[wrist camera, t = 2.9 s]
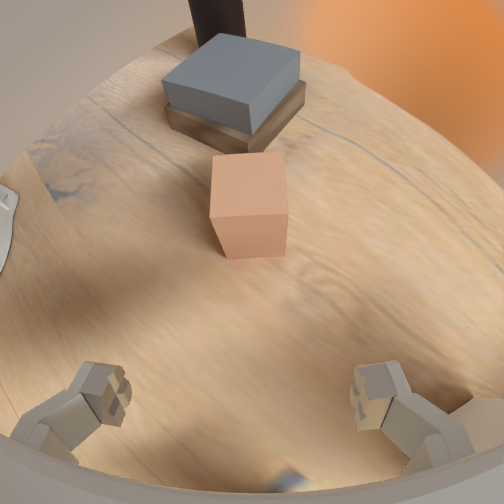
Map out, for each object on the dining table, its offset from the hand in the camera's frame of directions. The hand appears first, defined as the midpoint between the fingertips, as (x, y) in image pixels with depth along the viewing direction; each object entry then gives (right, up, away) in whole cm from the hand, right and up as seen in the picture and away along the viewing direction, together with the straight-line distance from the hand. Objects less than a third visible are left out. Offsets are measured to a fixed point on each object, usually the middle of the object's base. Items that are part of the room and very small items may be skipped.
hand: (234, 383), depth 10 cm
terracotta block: (+1, +6, +18) cm, 19 cm away
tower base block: (-1, +20, +24) cm, 31 cm away
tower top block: (-1, +22, +20) cm, 29 cm away
